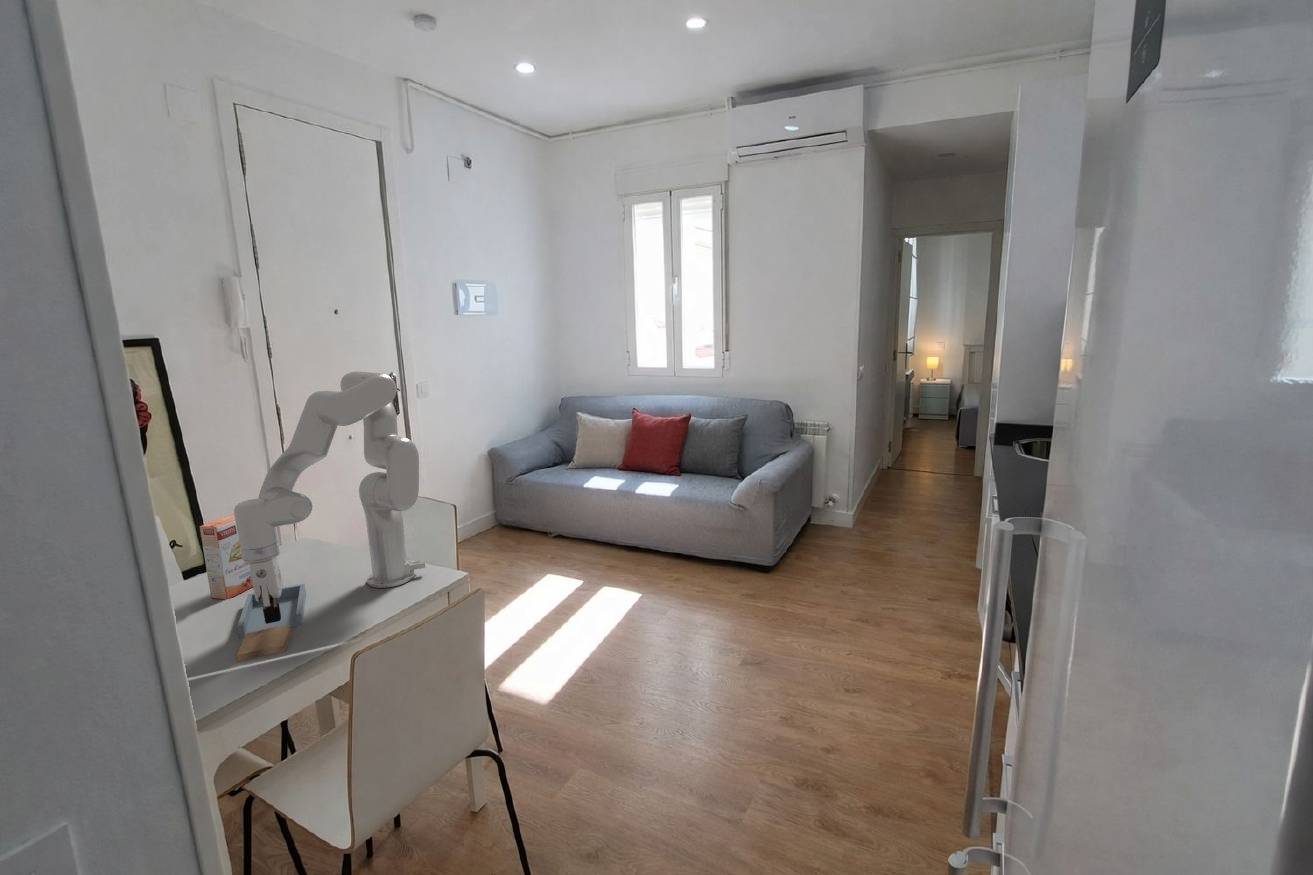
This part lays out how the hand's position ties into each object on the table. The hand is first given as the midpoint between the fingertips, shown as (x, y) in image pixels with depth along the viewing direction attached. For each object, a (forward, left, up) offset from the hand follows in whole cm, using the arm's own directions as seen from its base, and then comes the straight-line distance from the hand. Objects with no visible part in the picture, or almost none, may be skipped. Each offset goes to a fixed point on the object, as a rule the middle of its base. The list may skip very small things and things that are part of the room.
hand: (273, 620), depth 149 cm
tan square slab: (+1, +9, -3) cm, 9 cm away
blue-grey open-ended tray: (0, -7, -2) cm, 8 cm away
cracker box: (+10, -31, -2) cm, 33 cm away
